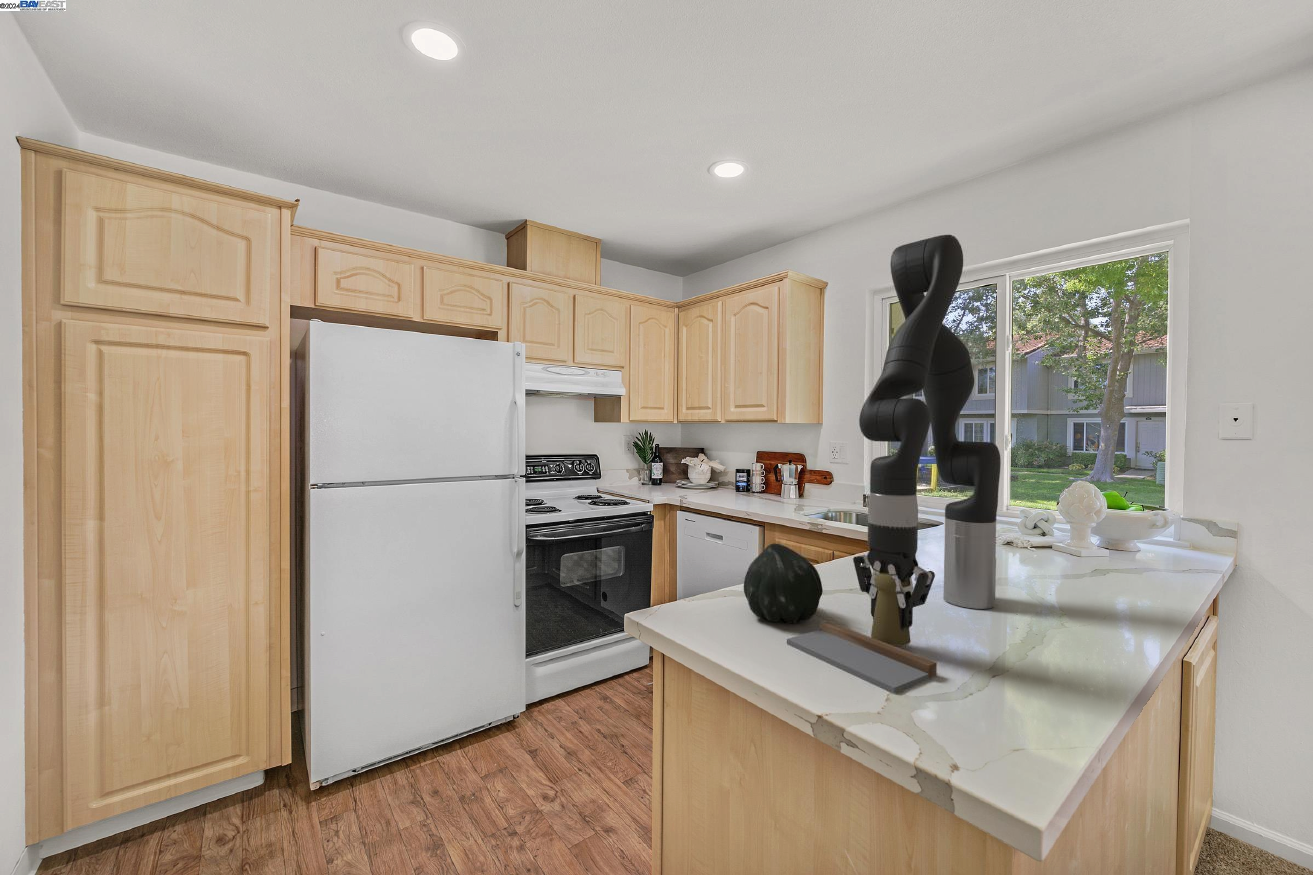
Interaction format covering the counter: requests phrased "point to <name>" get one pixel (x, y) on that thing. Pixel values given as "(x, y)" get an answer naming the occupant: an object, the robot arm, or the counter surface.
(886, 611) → the olive pawn-shaped piece
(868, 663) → the slate mat
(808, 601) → the squash
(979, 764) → the counter surface
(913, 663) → the walnut rail
